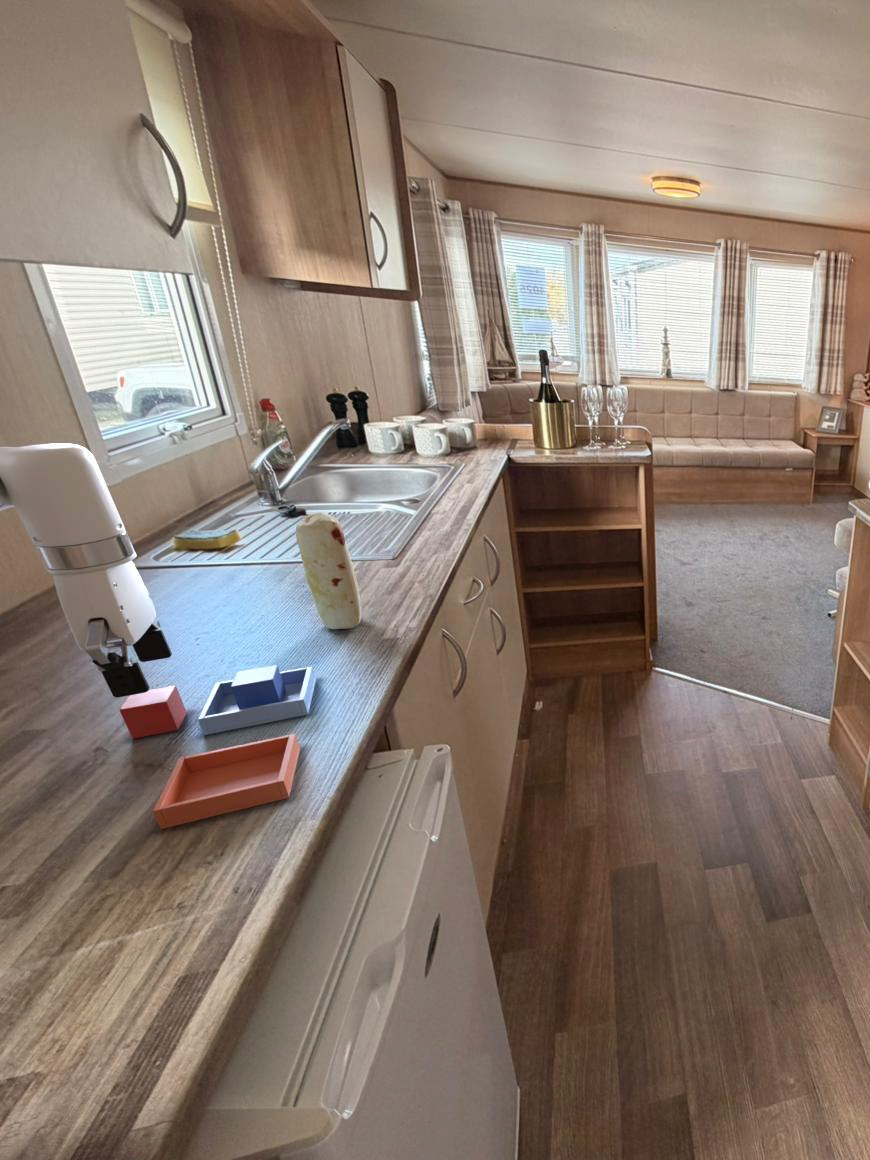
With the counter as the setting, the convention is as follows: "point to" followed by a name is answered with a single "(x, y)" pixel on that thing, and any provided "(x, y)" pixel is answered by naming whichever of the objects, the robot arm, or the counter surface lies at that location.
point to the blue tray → (227, 716)
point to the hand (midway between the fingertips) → (145, 675)
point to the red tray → (228, 780)
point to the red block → (153, 712)
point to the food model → (329, 571)
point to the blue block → (258, 687)
